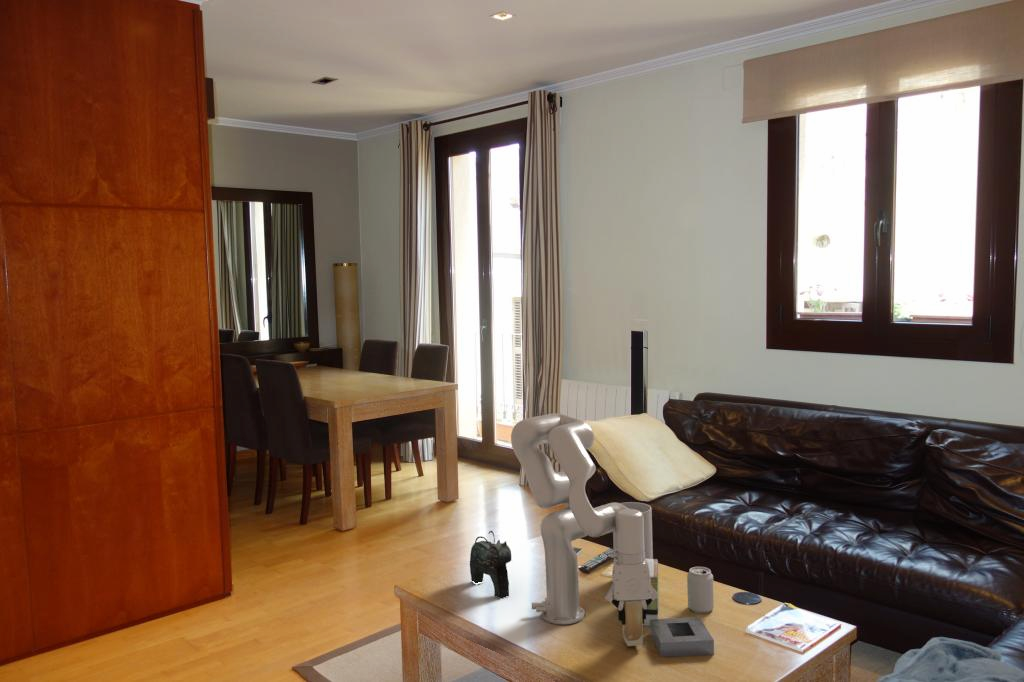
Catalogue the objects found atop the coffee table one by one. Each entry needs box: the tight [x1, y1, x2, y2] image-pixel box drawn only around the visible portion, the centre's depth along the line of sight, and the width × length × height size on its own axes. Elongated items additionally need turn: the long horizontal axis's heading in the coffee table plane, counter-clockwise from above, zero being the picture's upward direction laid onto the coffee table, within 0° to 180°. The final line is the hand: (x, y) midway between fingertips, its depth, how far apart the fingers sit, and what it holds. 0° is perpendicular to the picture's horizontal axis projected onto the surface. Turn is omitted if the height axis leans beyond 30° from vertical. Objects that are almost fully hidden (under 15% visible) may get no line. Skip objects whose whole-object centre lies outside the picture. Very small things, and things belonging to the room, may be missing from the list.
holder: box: [649, 616, 715, 658], centre depth 212 cm, size 14×14×4 cm
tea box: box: [643, 558, 660, 627], centre depth 230 cm, size 15×10×15 cm, turn 170°
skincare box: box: [622, 600, 644, 647], centre depth 211 cm, size 6×4×12 cm
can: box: [686, 566, 715, 614], centre depth 233 cm, size 8×8×12 cm
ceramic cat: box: [469, 530, 512, 599], centre depth 253 cm, size 20×6×20 cm, turn 34°
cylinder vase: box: [612, 501, 654, 562], centre depth 254 cm, size 12×12×25 cm
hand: (632, 621), depth 211 cm, fingers closed on skincare box, 4 cm apart
